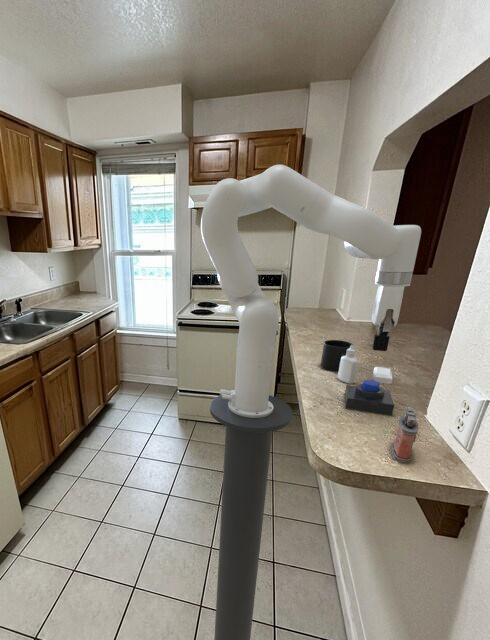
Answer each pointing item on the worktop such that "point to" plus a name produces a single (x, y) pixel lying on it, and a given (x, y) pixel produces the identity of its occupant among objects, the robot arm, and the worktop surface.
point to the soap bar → (382, 375)
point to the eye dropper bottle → (348, 367)
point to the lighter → (405, 436)
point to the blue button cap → (370, 385)
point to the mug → (333, 354)
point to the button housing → (368, 400)
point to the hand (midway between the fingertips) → (379, 349)
